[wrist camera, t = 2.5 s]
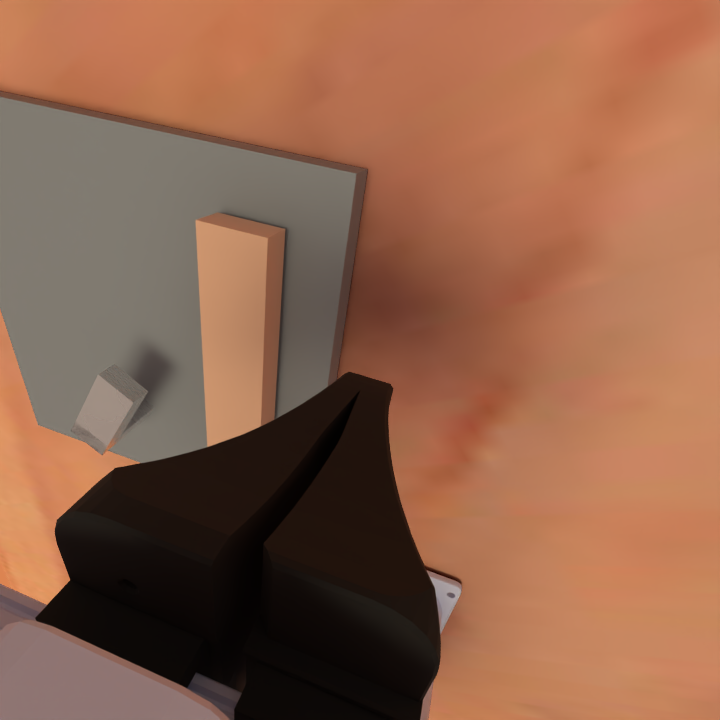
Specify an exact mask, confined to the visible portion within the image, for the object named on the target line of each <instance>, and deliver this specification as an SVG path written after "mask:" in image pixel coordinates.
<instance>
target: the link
mask: <svg viewBox="0 0 720 720" xmlns="http://www.w3.org/2000/svg"><path fill="white" fill-rule="evenodd" d="M195 221H196V240H197V259H198V278H199V297H200V316H201V335H202V354H203V373H204V392H205V411H206V430H207V447H209V446H212V445H215V444H218V443H220V442H223V441H226V440H229V439H231V438H234V437H237V436H240V435H242V434H245V433H247V432H249V431H252V430H254V429H256V428H258V427H260V426H262V425H264V424H267V423H268V422H270V421H272V420H274V416H275V399H276V382H277V364H278V347H279V330H280V312H281V295H282V278H283V260H284V243H285V229H283V228H279V227H275V226H271V225H267V224H263V223H259V222H255V221H251V220H247V219H243V218H239V217H234V216H230V215H226V214H222V213H218V212H217V213H214V214H212V215H209V216H206V217H203V218H200V219H197V220H195Z"/></svg>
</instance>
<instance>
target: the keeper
mask: <svg viewBox="0 0 720 720" xmlns="http://www.w3.org/2000/svg"><path fill="white" fill-rule="evenodd" d="M147 393H148V390H146V389H145V388H144V387H143V386H141V385H140V384H139V383H138V382H137V381H135V380H134V379H133V378H132V377H130V376H129V375H128V374H127V373H125V372H124V371H123V370H122V369H120V368H119V367H118V366H117V365H115V364H114V365H112V366H111V367H109V368H107V369H106V370H104V371H103V372H101V373H99V374H98V375H97V378H96V380H95V382H94V384H93V386H92V388H91V390H90V392H89V394H88V396H87V398H86V400H85V403H84V405H83V407H82V409H81V411H80V413H79V415H78V417H77V419H76V421H75V423H74V425H73V428H72V430H71V431H72V432H73V433H74V434H75V435H77V436H78V437H79V438H81V439H82V440H83V441H84V442H86V443H87V444H88V445H90V446H91V447H92V448H94V449H95V450H96V451H97V452H99V453H100V454H101V455H103V454H104V453H105V452H106V451H108V450H109V449H110V448H111V447H112V446H114V445H115V444H116V443H117V442H118V441H120V440H121V439H122V438H123V437H124V436H126V435H127V434H128V433H129V432H130V431H131V430H133V429H134V428H135V427H136V426H137V425H139V424H140V423H141V422H142V421H143V420H145V419H146V418H147V417H148V416H149V415H150V413H151V411H152V410H153V408H154V407H153V406H152V405H150V404H149V403H148V402H147V401H145V400H144V398H145V396H146V394H147Z"/></svg>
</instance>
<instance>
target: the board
mask: <svg viewBox="0 0 720 720" xmlns="http://www.w3.org/2000/svg"><path fill="white" fill-rule="evenodd" d="M367 171H368V169H365V168H360V167H355V166H351V165H346V164H341V163H336V162H332V161H327V160H322V159H318V158H313V157H308V156H304V155H299V154H294V153H289V152H285V151H280V150H275V149H271V148H266V147H261V146H257V145H252V144H247V143H242V142H238V141H233V140H228V139H224V138H219V137H214V136H209V135H205V134H200V133H195V132H191V131H186V130H181V129H177V128H172V127H167V126H162V125H158V124H153V123H148V122H144V121H139V120H134V119H130V118H125V117H120V116H115V115H111V114H106V113H101V112H97V111H92V110H87V109H83V108H78V107H73V106H68V105H64V104H59V103H54V102H50V101H45V100H40V99H35V98H31V97H26V96H21V95H17V94H12V93H7V92H3V91H0V309H1V313H2V316H3V319H4V322H5V325H6V328H7V331H8V334H9V337H10V340H11V343H12V346H13V349H14V352H15V355H16V358H17V361H18V365H19V368H20V371H21V374H22V377H23V380H24V383H25V386H26V389H27V392H28V395H29V398H30V401H31V404H32V407H33V410H34V413H35V416H36V420H37V423H38V425H40V426H43V427H45V428H48V429H51V430H53V431H56V432H59V433H62V434H64V435H67V436H70V437H72V438H75V439H78V440H81V441H83V440H82V439H81V438H79V437H78V436H77V435H75V434H74V433H73V432H72V431H71V430H72V428H73V425H74V423H75V421H76V419H77V417H78V415H79V413H80V411H81V409H82V407H83V405H84V403H85V400H86V398H87V396H88V394H89V392H90V390H91V388H92V386H93V384H94V382H95V380H96V378H97V375H98V374H99V373H101V372H103V371H104V370H106V369H107V368H109V367H111V366H112V365H114V364H115V365H117V366H118V367H119V368H120V369H122V370H123V371H124V372H125V373H127V374H128V375H129V376H130V377H132V378H133V379H134V380H135V381H137V382H138V383H139V384H140V385H141V386H143V387H144V388H145V389H146V390H148V393H147V394H146V396H145V398H144V400H145V401H147V402H148V403H149V404H150V405H152V406H153V407H154V408H153V410H152V411H151V413H150V415H149V416H148V417H147V418H146V419H145V420H143V421H142V422H141V423H140V424H139V425H137V426H136V427H135V428H134V429H133V430H131V431H130V432H129V433H128V434H127V435H126V436H124V437H123V438H122V439H121V440H120V441H118V442H117V443H116V444H115V445H114V446H112V447H111V448H110V449H109V450H108V451H110V452H113V453H116V454H119V455H121V456H124V457H127V458H130V459H132V460H135V461H138V462H140V463H145V462H150V461H155V460H160V459H165V458H169V457H173V456H177V455H181V454H185V453H188V452H192V451H195V450H199V449H202V448H206V447H207V430H206V411H205V392H204V373H203V354H202V335H201V316H200V297H199V278H198V259H197V240H196V221H195V220H197V219H200V218H203V217H206V216H209V215H212V214H214V213H217V212H218V213H222V214H226V215H230V216H234V217H239V218H243V219H247V220H251V221H255V222H259V223H263V224H267V225H271V226H275V227H279V228H283V229H285V243H284V260H283V278H282V295H281V312H280V330H279V347H278V364H277V382H276V399H275V416H274V419H276V418H278V417H280V416H282V415H283V414H285V413H287V412H289V411H290V410H292V409H294V408H296V407H297V406H299V405H301V404H302V403H304V402H305V401H307V400H308V399H310V398H312V397H313V396H315V395H316V394H318V393H319V392H321V391H322V390H323V389H325V388H326V387H328V386H329V385H331V384H332V383H333V382H335V381H336V380H337V373H338V366H339V360H340V353H341V346H342V339H343V333H344V326H345V319H346V312H347V306H348V299H349V292H350V286H351V279H352V272H353V265H354V259H355V252H356V245H357V239H358V232H359V225H360V218H361V212H362V205H363V198H364V192H365V185H366V178H367ZM83 442H84V441H83Z"/></svg>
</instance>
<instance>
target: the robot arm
mask: <svg viewBox="0 0 720 720" xmlns="http://www.w3.org/2000/svg"><path fill="white" fill-rule="evenodd" d="M392 392H393V387H392V386H391V384H389V383H385V382H382V381H379V380H375V379H372V378H369V377H365V376H362V375H359V374H355V373H352V372H348V373H346V374H344V375H343V376H341V377H340V378H339V379H337V380H336V381H335V382H333V383H332V384H331V385H329V386H328V387H326V388H325V389H323V390H322V391H321V392H319V393H318V394H316V395H315V396H313V397H312V398H310V399H308V400H307V401H305V402H304V403H302V404H301V405H299V406H297V407H296V408H294V409H292V410H290V411H289V412H287V413H285V414H283V415H282V416H280V417H278V418H276V419H274V420H272V421H270V422H268V423H267V424H264V425H262V426H260V427H258V428H256V429H254V430H252V431H249V432H247V433H245V434H242V435H240V436H237V437H234V438H231V439H229V440H226V441H223V442H220V443H218V444H215V445H212V446H209V447H206V448H202V449H199V450H195V451H192V452H188V453H185V454H181V455H177V456H173V457H169V458H165V459H160V460H155V461H150V462H145V463H140V464H135V465H130V466H124V467H118V468H115V469H114V470H112V471H111V472H110V473H109V474H107V475H106V476H105V477H104V478H102V479H101V480H100V481H99V482H98V483H97V484H96V485H94V486H93V487H92V488H91V489H90V490H89V491H88V492H87V493H86V494H85V495H84V496H83V497H81V498H80V499H79V500H78V501H77V502H76V503H75V504H74V505H73V506H72V507H71V508H70V509H69V510H67V511H66V512H65V513H64V514H63V515H62V516H61V517H60V518H59V519H58V520H57V523H56V527H55V536H56V541H57V545H58V548H59V551H60V553H61V556H62V559H63V561H64V564H65V567H66V569H67V572H68V575H69V577H70V581H69V582H68V583H67V584H66V585H65V586H64V588H63V589H62V590H61V591H60V592H59V593H58V594H57V595H56V596H55V597H54V598H53V599H52V600H51V601H50V603H49V604H48V605H46V604H44V603H41V602H39V601H37V600H35V599H33V598H30V597H28V596H26V595H24V594H21V593H19V592H17V591H15V590H13V589H10V588H8V587H6V586H4V585H2V584H0V720H428V718H429V711H430V703H431V696H432V688H433V681H434V679H435V677H436V675H437V672H438V669H439V665H440V651H441V639H440V634H441V632H442V630H443V628H444V626H445V624H446V622H447V620H448V618H449V616H450V614H451V612H452V610H453V608H454V606H455V604H456V603H457V601H458V599H459V597H460V595H461V591H462V586H461V584H460V583H459V582H457V581H455V580H452V579H449V578H447V577H444V576H441V575H438V574H436V573H433V572H430V571H428V570H426V568H425V566H424V564H423V561H422V559H421V557H420V555H419V552H418V550H417V547H416V545H415V542H414V540H413V537H412V535H411V532H410V529H409V526H408V523H407V520H406V517H405V514H404V511H403V508H402V505H401V501H400V497H399V494H398V490H397V486H396V481H395V477H394V472H393V466H392V460H391V453H390V444H389V428H388V412H389V405H390V401H391V396H392Z"/></svg>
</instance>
